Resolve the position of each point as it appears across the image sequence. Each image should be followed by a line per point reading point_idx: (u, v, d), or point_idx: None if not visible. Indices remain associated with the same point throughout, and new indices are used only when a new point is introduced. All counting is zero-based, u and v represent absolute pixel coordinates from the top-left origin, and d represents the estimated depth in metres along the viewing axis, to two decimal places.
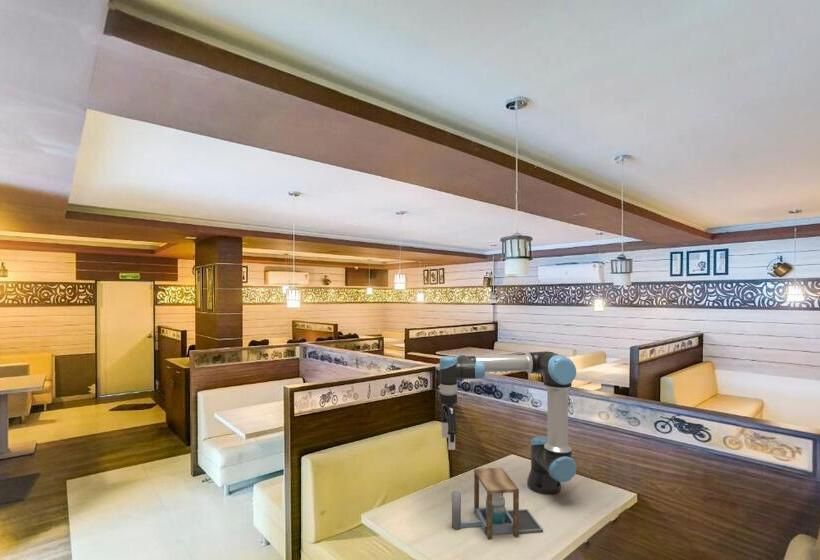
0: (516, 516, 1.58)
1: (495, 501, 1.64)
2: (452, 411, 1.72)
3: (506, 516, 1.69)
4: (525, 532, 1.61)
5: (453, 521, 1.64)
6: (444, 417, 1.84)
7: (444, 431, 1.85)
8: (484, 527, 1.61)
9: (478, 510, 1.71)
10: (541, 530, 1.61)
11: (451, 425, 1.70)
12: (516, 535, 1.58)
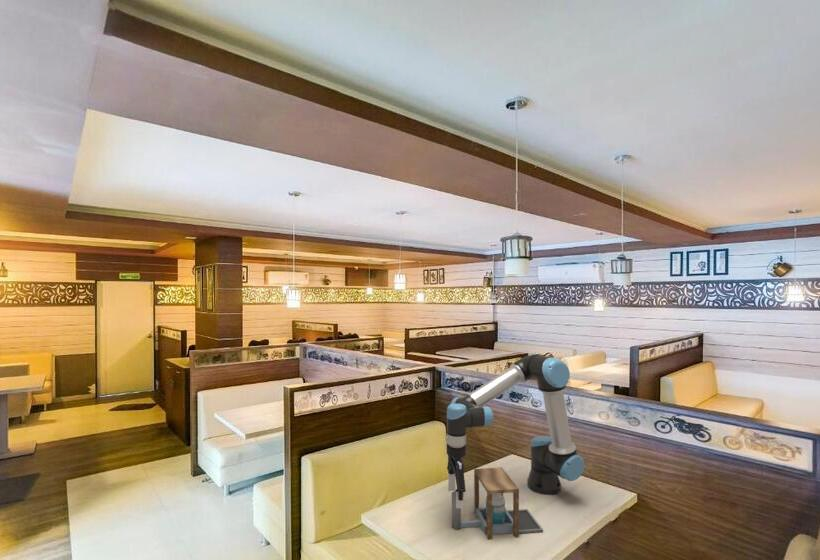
0: (516, 516, 1.58)
1: (495, 501, 1.64)
2: (461, 466, 1.58)
3: (506, 516, 1.69)
4: (525, 532, 1.61)
5: (453, 521, 1.64)
6: (451, 469, 1.70)
7: (451, 484, 1.71)
8: (484, 527, 1.61)
9: (478, 510, 1.71)
10: (541, 530, 1.61)
11: (459, 482, 1.56)
12: (516, 535, 1.58)
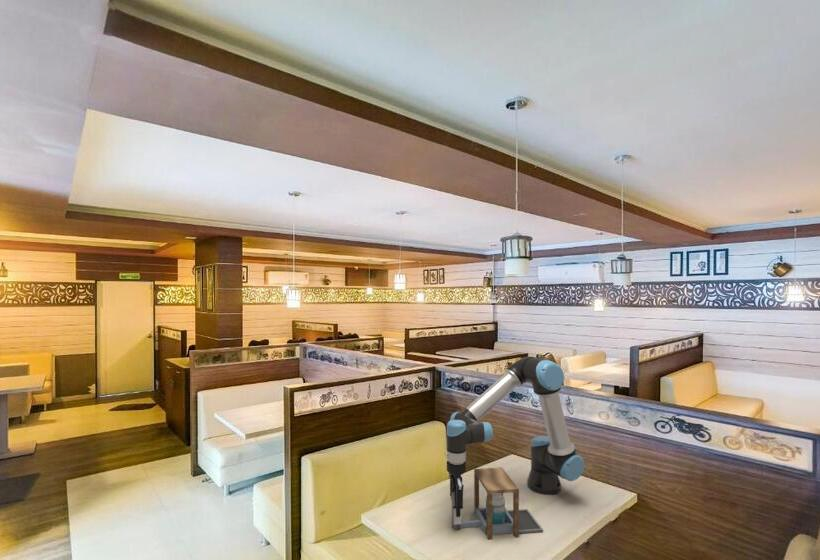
0: (516, 516, 1.58)
1: (495, 501, 1.64)
2: (460, 488, 1.59)
3: (506, 516, 1.69)
4: (525, 532, 1.61)
5: (453, 521, 1.64)
6: None
7: None
8: (484, 527, 1.61)
9: (478, 510, 1.71)
10: (541, 530, 1.61)
11: (458, 501, 1.59)
12: (516, 535, 1.58)
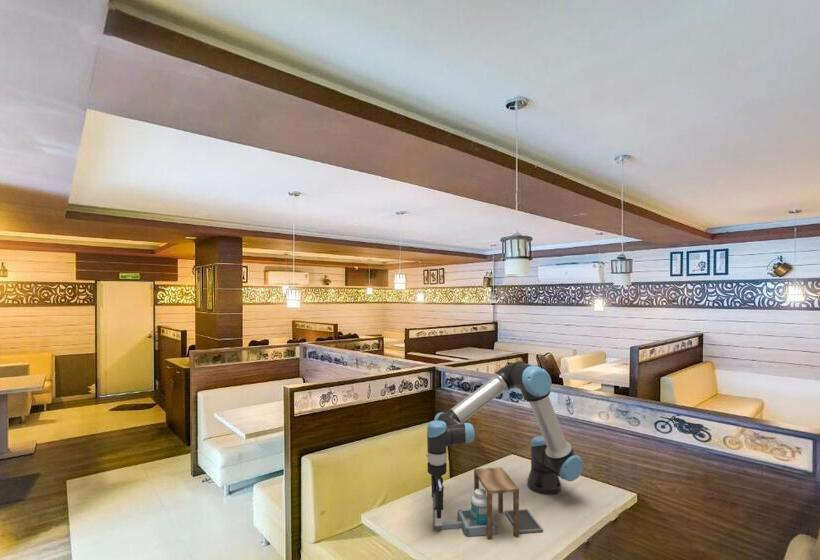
0: (516, 516, 1.58)
1: (480, 502, 1.63)
2: (441, 489, 1.58)
3: None
4: (525, 532, 1.61)
5: (434, 522, 1.63)
6: None
7: None
8: (465, 528, 1.60)
9: (460, 511, 1.70)
10: (541, 530, 1.61)
11: (438, 502, 1.58)
12: (516, 535, 1.58)
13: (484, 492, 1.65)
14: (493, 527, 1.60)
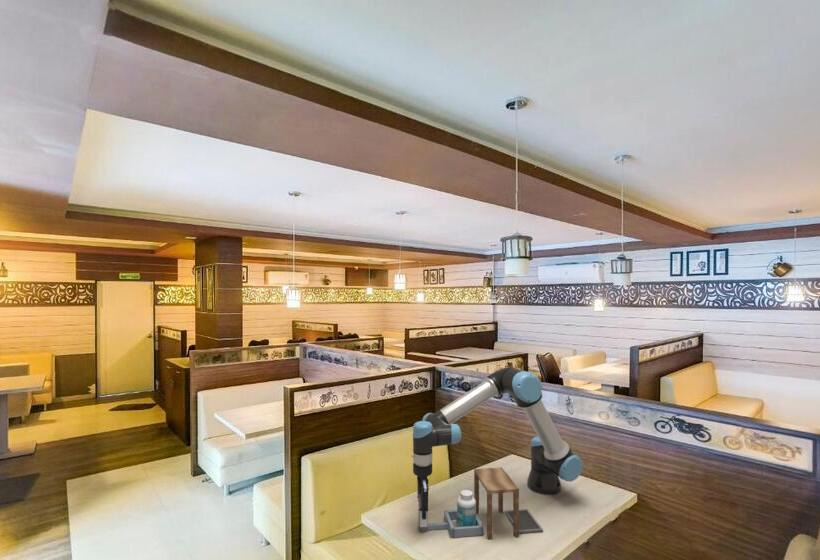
0: (516, 516, 1.58)
1: (466, 503, 1.62)
2: (426, 490, 1.57)
3: None
4: (525, 532, 1.61)
5: None
6: None
7: None
8: (450, 530, 1.59)
9: (446, 512, 1.69)
10: (541, 530, 1.61)
11: (423, 503, 1.58)
12: (516, 535, 1.58)
13: (470, 493, 1.64)
14: (478, 528, 1.59)
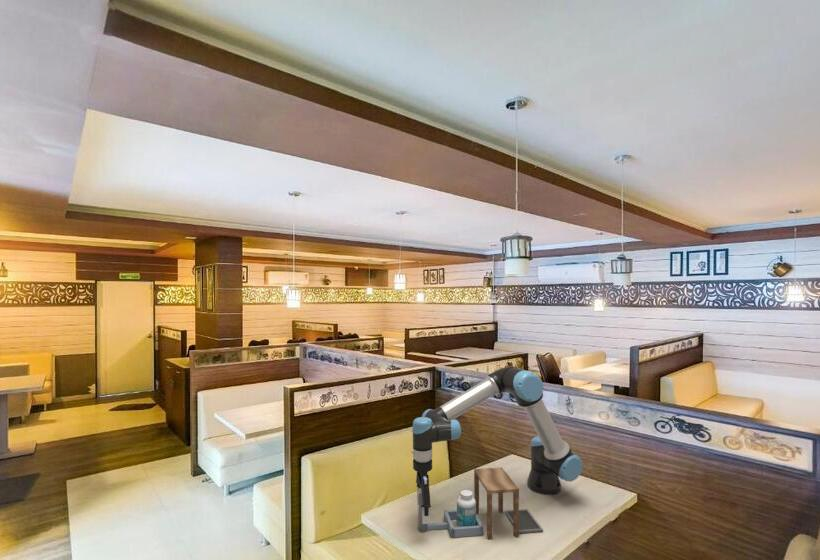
0: (516, 516, 1.58)
1: (466, 503, 1.62)
2: (426, 481, 1.57)
3: None
4: (525, 532, 1.61)
5: (419, 523, 1.62)
6: None
7: None
8: (450, 530, 1.59)
9: (446, 512, 1.69)
10: (541, 530, 1.61)
11: (425, 498, 1.54)
12: (516, 535, 1.58)
13: (470, 493, 1.64)
14: (478, 528, 1.59)
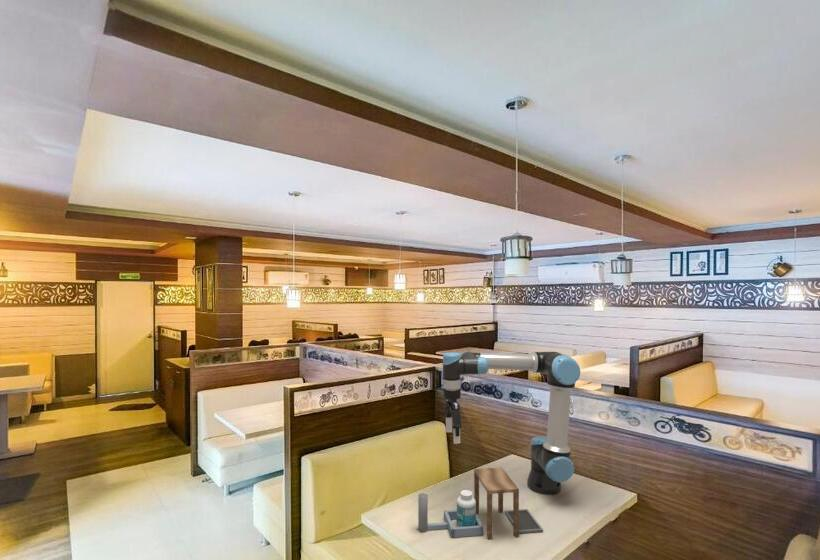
0: (516, 516, 1.58)
1: (466, 503, 1.62)
2: (456, 406, 1.76)
3: None
4: (525, 532, 1.61)
5: (419, 523, 1.62)
6: (448, 412, 1.87)
7: (448, 426, 1.89)
8: (450, 530, 1.59)
9: (446, 512, 1.69)
10: (541, 530, 1.61)
11: (456, 419, 1.73)
12: (516, 535, 1.58)
13: (470, 493, 1.64)
14: (478, 528, 1.59)
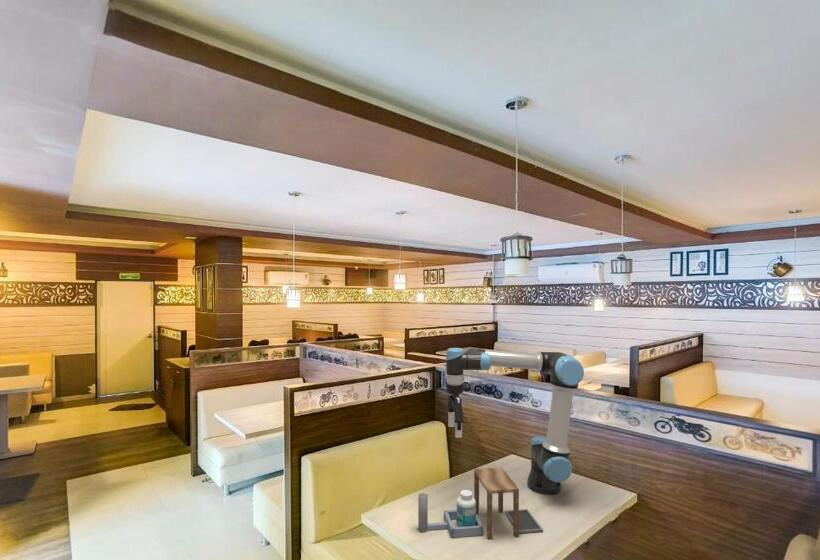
0: (516, 516, 1.58)
1: (466, 503, 1.62)
2: (459, 400, 1.78)
3: None
4: (525, 532, 1.61)
5: (419, 523, 1.62)
6: (451, 407, 1.90)
7: (450, 420, 1.91)
8: (450, 530, 1.59)
9: (446, 512, 1.69)
10: (541, 530, 1.61)
11: (458, 414, 1.76)
12: (516, 535, 1.58)
13: (470, 493, 1.64)
14: (478, 528, 1.59)
